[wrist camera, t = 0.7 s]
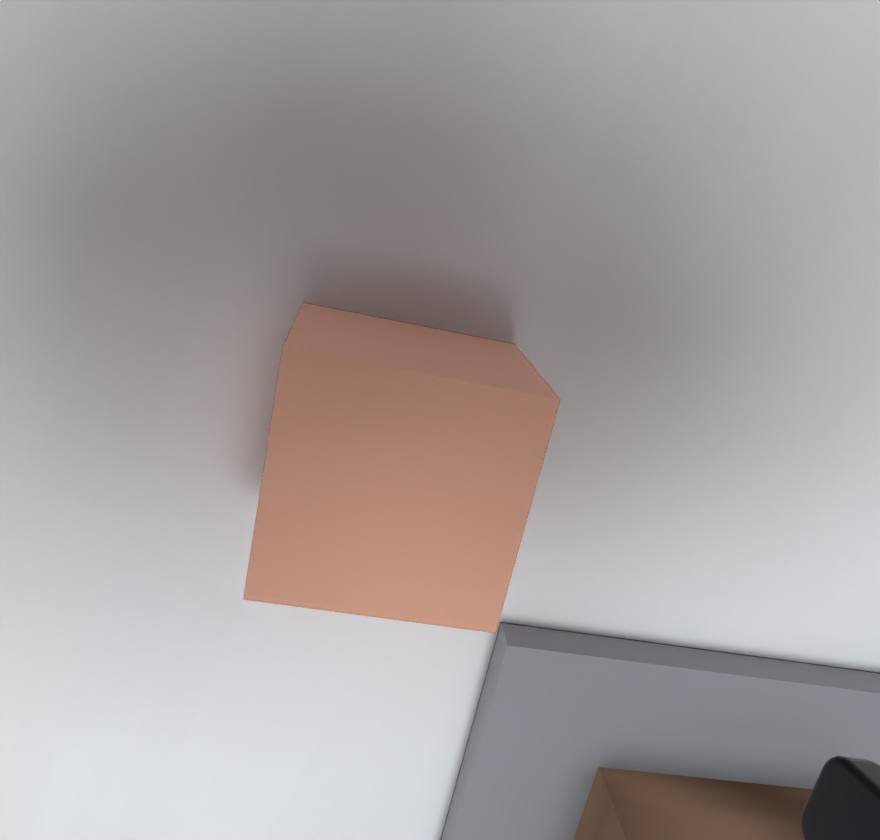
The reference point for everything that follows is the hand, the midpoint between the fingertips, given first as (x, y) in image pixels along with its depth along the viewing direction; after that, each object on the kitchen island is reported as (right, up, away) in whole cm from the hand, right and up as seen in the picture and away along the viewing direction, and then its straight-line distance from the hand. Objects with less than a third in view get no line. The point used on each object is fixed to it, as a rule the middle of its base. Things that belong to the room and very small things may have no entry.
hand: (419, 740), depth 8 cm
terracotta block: (-1, +3, +11) cm, 11 cm away
